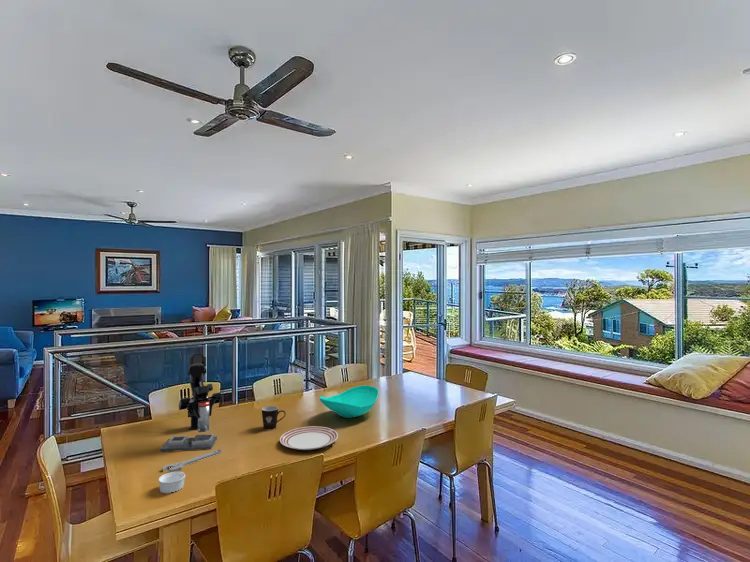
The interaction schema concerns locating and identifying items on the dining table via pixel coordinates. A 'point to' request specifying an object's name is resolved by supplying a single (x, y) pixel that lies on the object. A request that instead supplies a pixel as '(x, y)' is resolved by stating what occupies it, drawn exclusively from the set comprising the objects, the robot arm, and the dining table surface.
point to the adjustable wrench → (189, 461)
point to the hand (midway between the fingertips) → (204, 416)
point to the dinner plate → (308, 438)
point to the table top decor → (352, 401)
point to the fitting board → (189, 442)
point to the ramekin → (171, 482)
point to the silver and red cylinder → (203, 416)
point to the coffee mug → (270, 416)
